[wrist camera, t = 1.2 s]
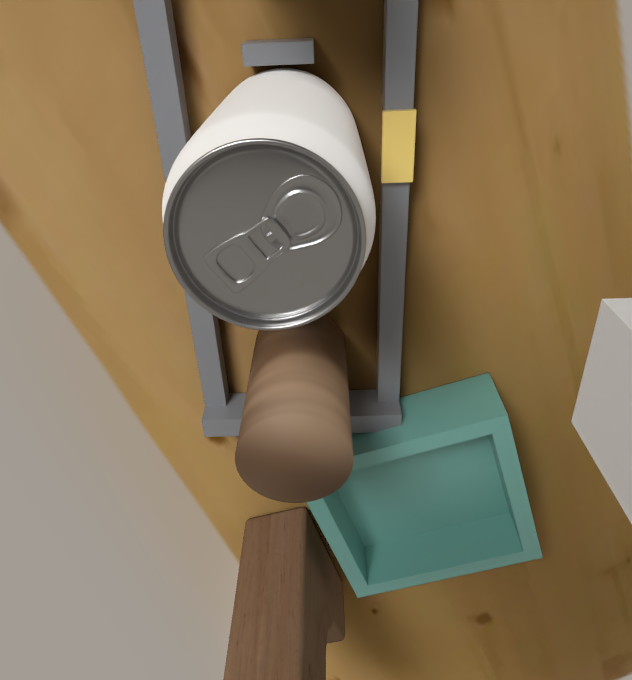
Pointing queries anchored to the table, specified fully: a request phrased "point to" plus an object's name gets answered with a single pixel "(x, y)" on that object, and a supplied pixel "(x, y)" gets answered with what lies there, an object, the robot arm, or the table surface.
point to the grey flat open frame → (396, 174)
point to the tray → (432, 494)
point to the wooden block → (284, 601)
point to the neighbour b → (297, 414)
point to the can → (271, 204)
